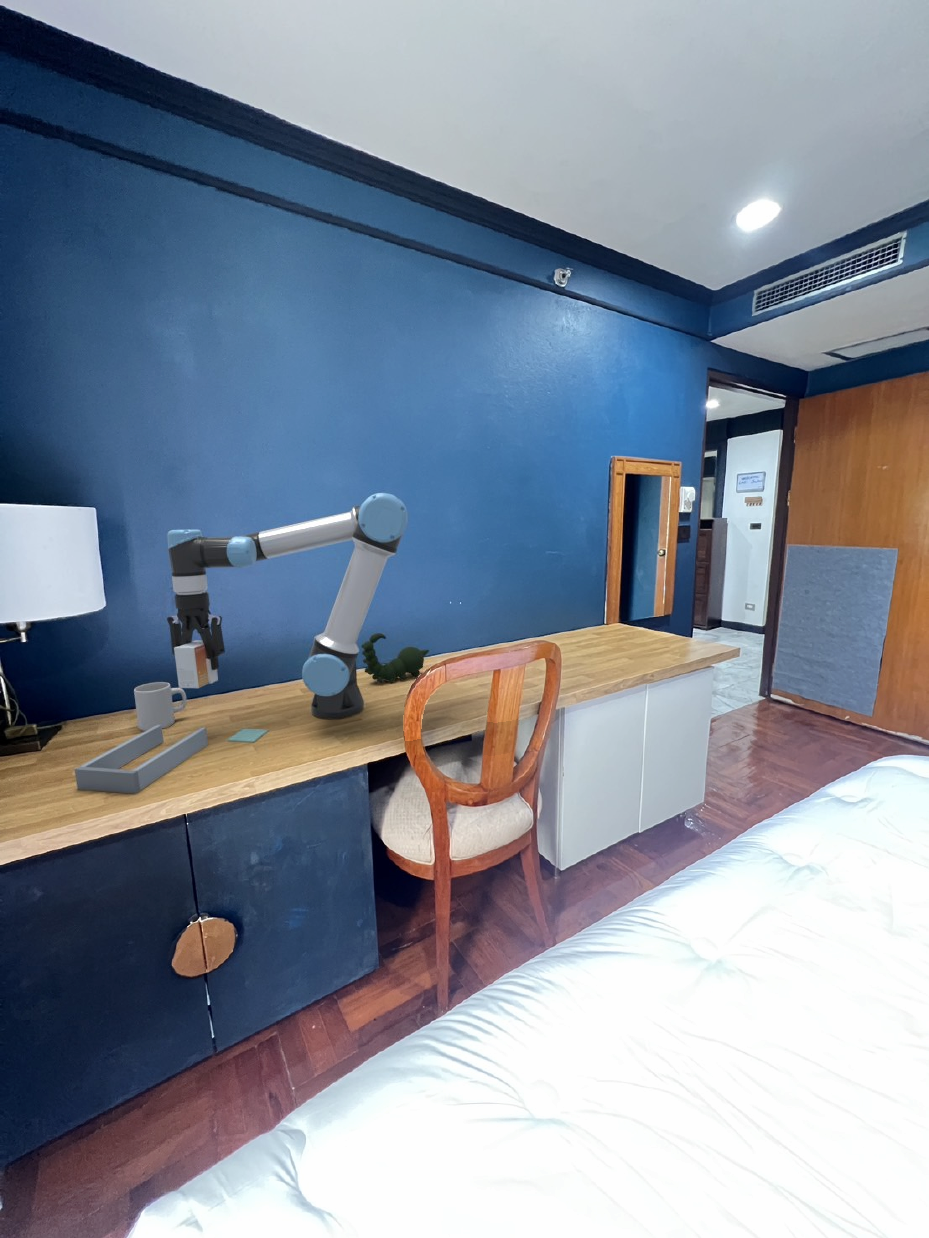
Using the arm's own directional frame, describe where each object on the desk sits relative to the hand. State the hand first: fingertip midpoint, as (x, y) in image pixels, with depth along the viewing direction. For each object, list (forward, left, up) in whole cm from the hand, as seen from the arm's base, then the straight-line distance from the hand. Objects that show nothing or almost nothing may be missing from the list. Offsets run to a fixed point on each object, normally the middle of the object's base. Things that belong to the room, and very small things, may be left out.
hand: (202, 681), depth 128 cm
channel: (+2, +17, -14) cm, 23 cm away
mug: (+16, -5, -15) cm, 22 cm away
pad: (-12, 0, -14) cm, 19 cm away
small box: (0, +1, -1) cm, 1 cm away
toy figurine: (-38, -52, -15) cm, 66 cm away
